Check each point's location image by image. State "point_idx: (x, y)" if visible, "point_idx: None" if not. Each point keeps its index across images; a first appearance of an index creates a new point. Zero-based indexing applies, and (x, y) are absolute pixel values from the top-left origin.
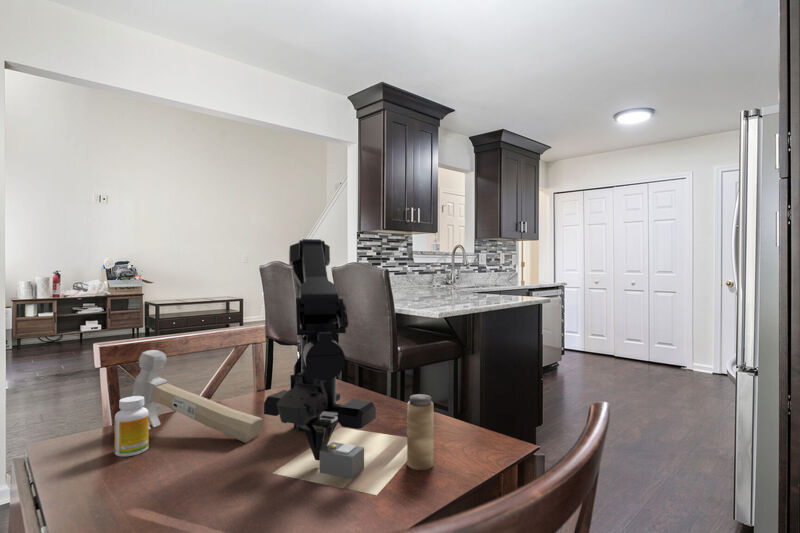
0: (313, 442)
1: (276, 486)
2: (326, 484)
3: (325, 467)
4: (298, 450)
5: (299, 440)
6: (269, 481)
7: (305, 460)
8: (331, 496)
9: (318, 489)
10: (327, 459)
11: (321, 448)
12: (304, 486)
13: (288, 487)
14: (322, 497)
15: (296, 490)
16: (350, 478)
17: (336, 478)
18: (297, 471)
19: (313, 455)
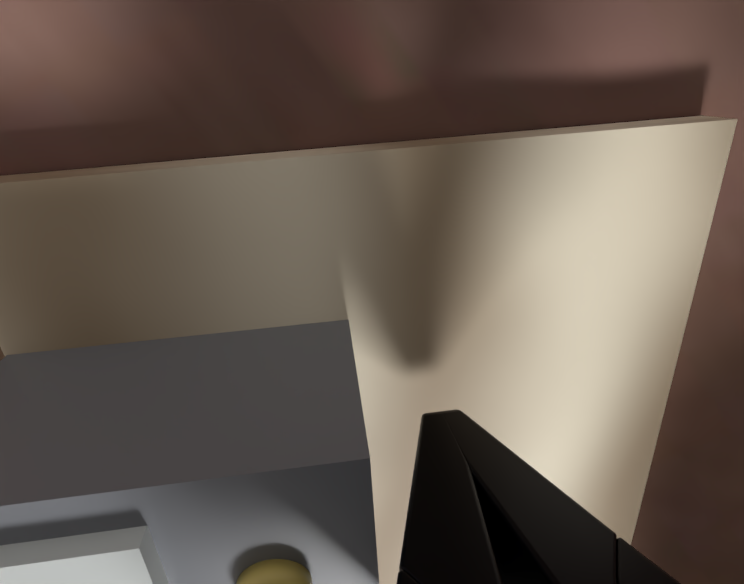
0: (530, 543)
1: (599, 5)
2: (131, 173)
3: (286, 355)
4: (695, 503)
5: (741, 579)
6: (701, 57)
7: (571, 412)
8: (12, 84)
9: (218, 139)
10: (251, 409)
11: (409, 515)
12: (365, 126)
13: (486, 42)
14: (69, 25)
15: (385, 27)
16: (22, 355)
17: (140, 305)
18: (536, 249)
19: (483, 428)
